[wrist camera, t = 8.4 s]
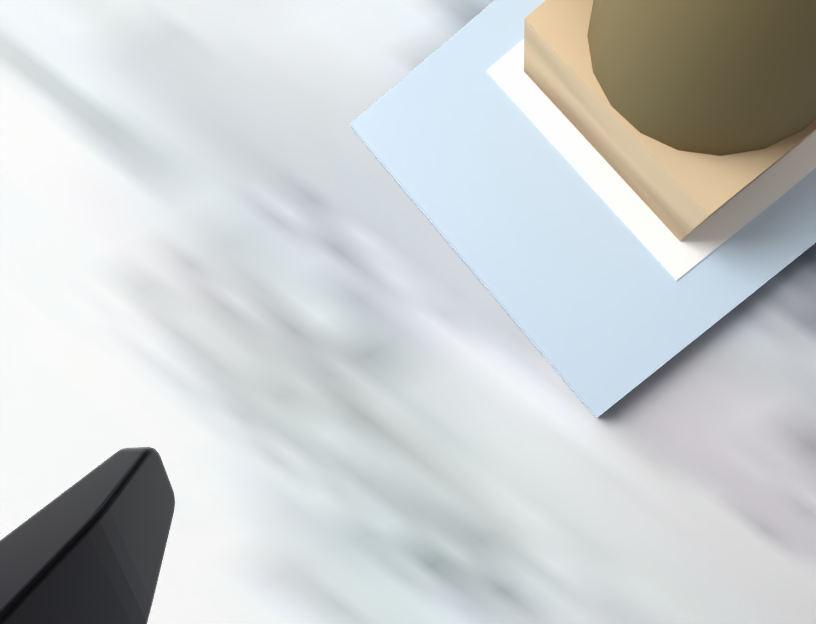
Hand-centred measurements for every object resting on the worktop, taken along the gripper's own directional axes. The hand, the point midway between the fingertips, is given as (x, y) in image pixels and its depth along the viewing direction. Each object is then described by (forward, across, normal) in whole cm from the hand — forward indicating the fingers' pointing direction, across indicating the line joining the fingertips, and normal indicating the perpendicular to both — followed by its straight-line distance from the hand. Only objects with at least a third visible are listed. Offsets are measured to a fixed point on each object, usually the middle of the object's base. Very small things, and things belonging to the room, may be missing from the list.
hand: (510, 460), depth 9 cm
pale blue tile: (+14, -4, +1) cm, 14 cm away
